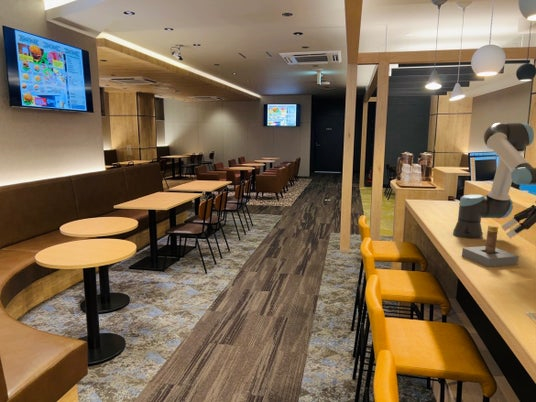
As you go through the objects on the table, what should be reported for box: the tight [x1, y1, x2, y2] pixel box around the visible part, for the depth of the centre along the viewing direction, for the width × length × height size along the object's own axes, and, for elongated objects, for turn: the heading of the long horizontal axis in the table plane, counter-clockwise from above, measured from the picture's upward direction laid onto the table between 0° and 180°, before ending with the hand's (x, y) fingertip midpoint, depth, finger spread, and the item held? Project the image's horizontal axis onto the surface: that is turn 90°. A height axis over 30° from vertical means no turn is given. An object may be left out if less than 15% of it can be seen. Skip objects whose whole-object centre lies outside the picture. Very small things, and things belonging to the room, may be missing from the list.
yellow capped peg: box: [485, 225, 499, 254], centre depth 179 cm, size 4×4×16 cm
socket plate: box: [461, 245, 520, 268], centre depth 180 cm, size 16×16×4 cm
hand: (505, 232), depth 176 cm, fingers open, 13 cm apart
